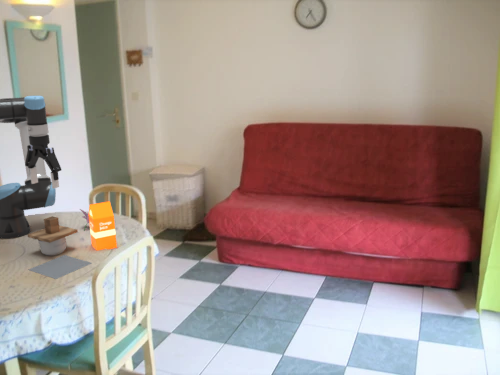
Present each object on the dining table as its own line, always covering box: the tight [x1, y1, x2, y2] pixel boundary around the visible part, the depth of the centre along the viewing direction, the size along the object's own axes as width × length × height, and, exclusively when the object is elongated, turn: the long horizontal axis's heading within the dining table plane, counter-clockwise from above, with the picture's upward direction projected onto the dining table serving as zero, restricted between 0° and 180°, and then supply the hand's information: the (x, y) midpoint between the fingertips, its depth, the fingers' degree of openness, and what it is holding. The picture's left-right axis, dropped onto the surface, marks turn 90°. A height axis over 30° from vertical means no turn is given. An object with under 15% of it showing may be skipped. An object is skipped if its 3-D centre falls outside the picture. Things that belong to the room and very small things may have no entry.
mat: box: [27, 254, 93, 280], centre depth 197 cm, size 17×17×1 cm
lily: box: [79, 208, 89, 232], centre depth 241 cm, size 12×12×10 cm
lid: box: [26, 216, 79, 243], centre depth 210 cm, size 14×14×7 cm
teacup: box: [37, 237, 67, 256], centre depth 213 cm, size 14×11×8 cm
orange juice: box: [88, 200, 118, 251], centre depth 215 cm, size 8×9×20 cm
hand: (45, 185), depth 209 cm, fingers open, 13 cm apart
